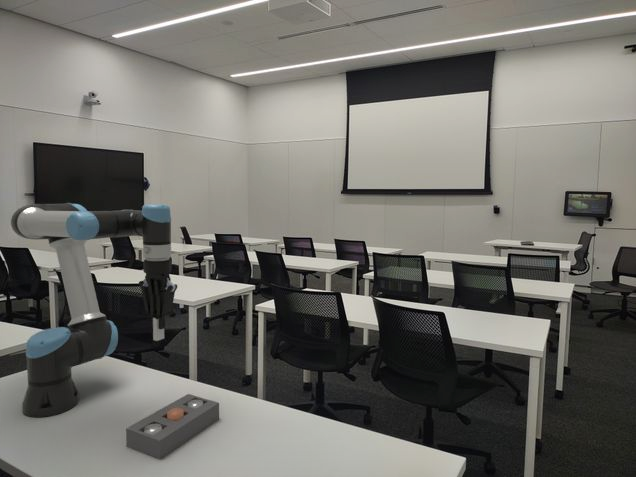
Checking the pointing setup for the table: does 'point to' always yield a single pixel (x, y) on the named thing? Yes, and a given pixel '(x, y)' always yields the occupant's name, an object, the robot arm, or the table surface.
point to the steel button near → (152, 429)
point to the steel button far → (195, 403)
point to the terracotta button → (175, 414)
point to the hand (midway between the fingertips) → (158, 339)
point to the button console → (172, 427)
